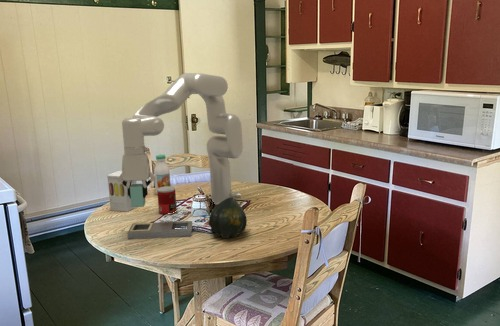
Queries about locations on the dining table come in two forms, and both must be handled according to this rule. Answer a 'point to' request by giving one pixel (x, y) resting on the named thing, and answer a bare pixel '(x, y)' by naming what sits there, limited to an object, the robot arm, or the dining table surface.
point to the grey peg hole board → (159, 230)
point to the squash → (228, 218)
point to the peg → (137, 195)
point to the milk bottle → (161, 173)
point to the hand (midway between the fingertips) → (138, 196)
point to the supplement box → (118, 193)
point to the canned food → (166, 199)
